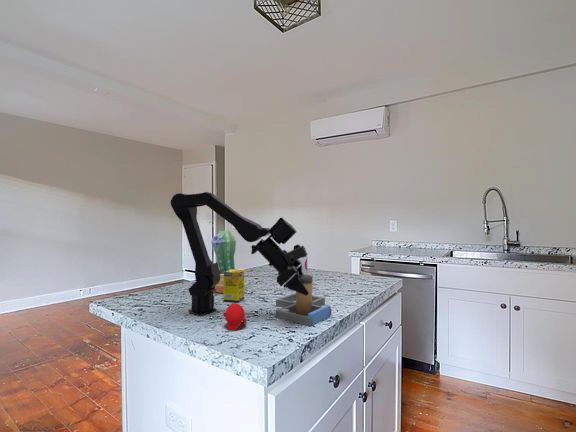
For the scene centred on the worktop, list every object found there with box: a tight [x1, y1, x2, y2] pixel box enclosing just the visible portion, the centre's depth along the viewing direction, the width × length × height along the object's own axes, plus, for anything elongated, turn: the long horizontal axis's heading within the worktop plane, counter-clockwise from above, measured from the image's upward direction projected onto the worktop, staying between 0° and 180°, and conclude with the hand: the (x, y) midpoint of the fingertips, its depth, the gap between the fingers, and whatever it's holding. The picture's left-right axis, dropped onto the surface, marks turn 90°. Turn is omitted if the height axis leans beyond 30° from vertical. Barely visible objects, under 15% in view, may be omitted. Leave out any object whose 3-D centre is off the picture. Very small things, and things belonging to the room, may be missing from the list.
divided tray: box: [275, 292, 332, 327], centre depth 104 cm, size 22×20×3 cm
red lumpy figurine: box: [223, 302, 247, 332], centre depth 89 cm, size 8×6×6 cm
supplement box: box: [223, 269, 245, 304], centre depth 116 cm, size 6×6×11 cm
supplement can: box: [298, 255, 308, 275], centre depth 136 cm, size 8×8×15 cm
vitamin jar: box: [295, 274, 313, 316], centre depth 98 cm, size 5×5×13 cm
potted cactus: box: [211, 230, 243, 294], centre depth 132 cm, size 15×15×25 cm
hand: (308, 290), depth 98 cm, fingers open, 9 cm apart
